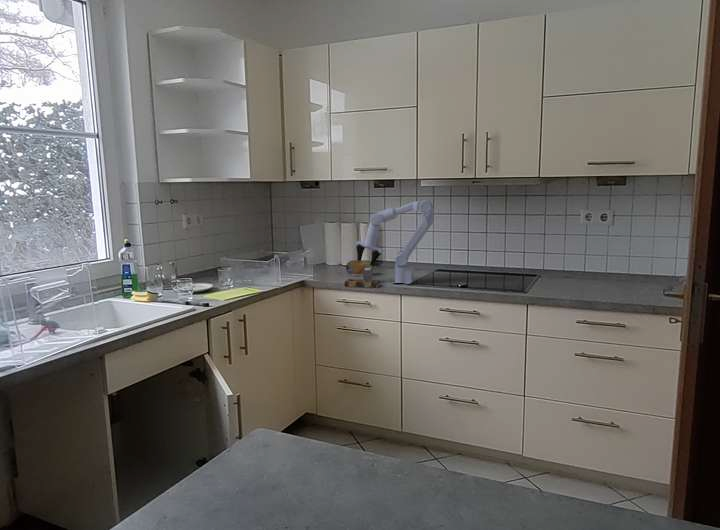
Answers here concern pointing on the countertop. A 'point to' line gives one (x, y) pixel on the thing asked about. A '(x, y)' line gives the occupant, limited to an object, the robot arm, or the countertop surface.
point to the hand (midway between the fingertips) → (365, 262)
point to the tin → (358, 266)
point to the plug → (367, 274)
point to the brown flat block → (361, 283)
